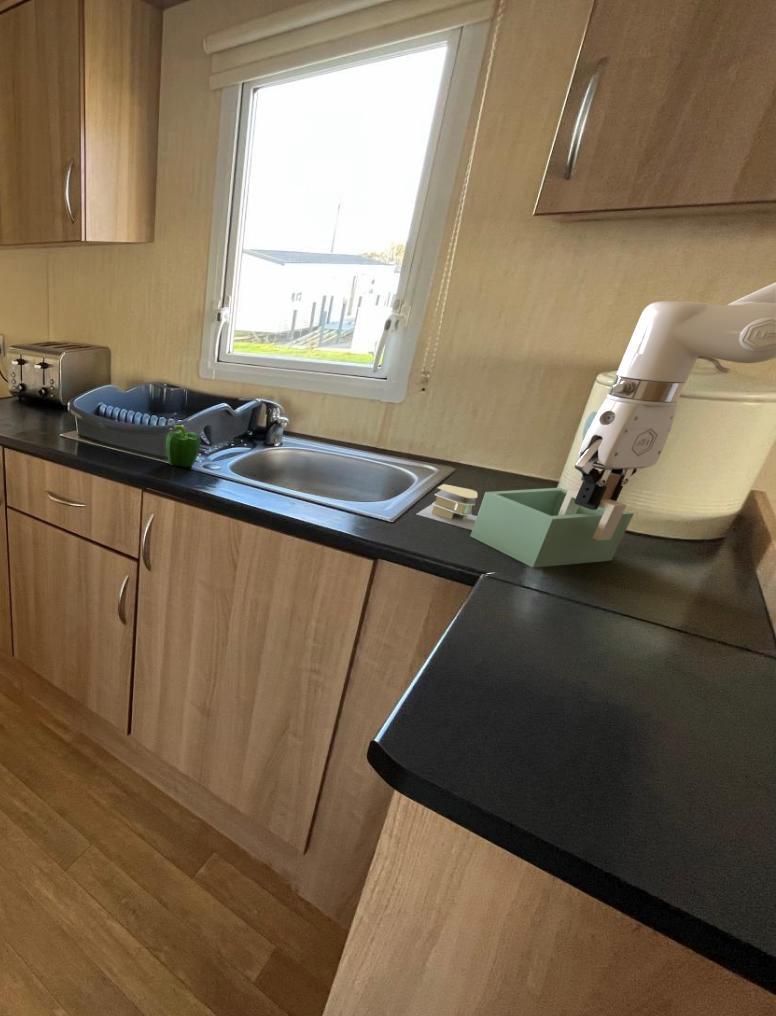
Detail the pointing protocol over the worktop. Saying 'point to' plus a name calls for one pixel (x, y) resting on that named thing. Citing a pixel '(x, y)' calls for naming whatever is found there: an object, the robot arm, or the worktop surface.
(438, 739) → the worktop surface
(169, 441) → the bell pepper
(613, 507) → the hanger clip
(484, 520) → the tote
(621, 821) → the worktop surface
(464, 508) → the stacked layers on plate
